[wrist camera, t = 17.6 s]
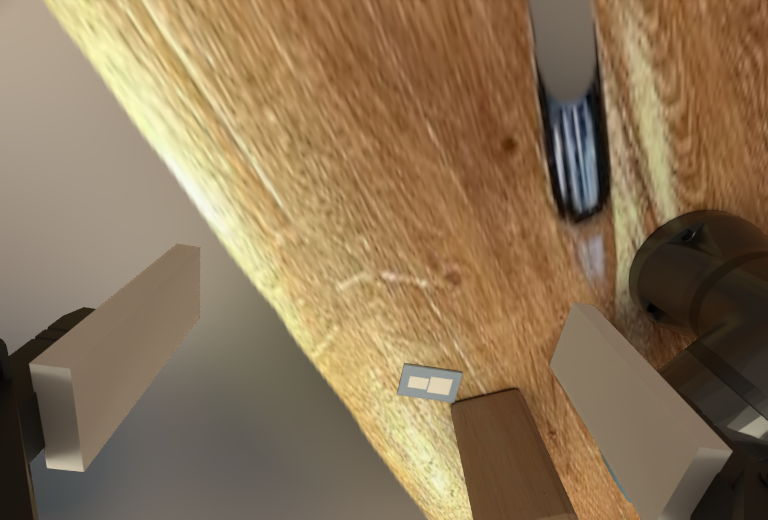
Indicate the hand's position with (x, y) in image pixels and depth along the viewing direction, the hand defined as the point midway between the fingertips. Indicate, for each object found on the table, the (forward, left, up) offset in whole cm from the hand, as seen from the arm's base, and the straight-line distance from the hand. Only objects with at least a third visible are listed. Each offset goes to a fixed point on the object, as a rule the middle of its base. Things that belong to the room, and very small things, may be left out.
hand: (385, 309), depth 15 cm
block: (-22, +34, -35) cm, 54 cm away
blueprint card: (-12, +29, -35) cm, 47 cm away
